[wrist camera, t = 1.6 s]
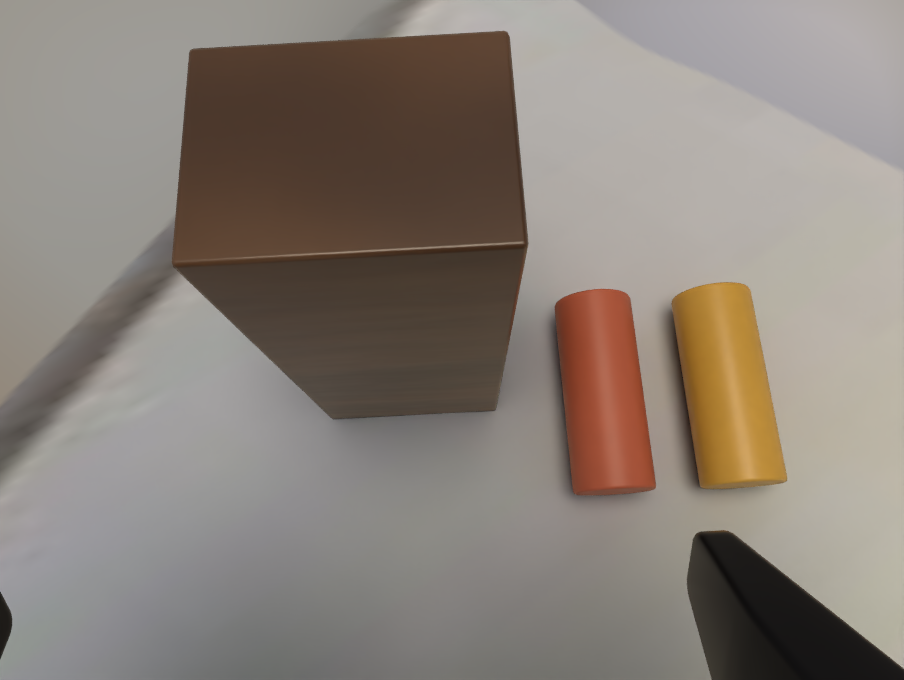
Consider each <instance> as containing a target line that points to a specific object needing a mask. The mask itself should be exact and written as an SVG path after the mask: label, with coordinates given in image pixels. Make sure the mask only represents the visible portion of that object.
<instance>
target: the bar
mask: <svg viewBox="0 0 904 680" xmlns="http://www.w3.org/2000/svg"><path fill="white" fill-rule="evenodd" d="M527 248H528V233H527V222H526V211H525V200H524V189H523V179H522V168H521V157H520V146H519V135H518V124H517V113H516V102H515V91H514V80H513V69H512V58H511V47H510V37H509V35H508V33H507V32H506V31H495V32H477V33H460V34H442V35H425V36H407V37H390V38H373V39H355V40H338V41H320V42H303V43H287V44H268V45H251V46H233V47H216V48H198V49H192V50H190V52H189V63H188V74H187V87H186V98H185V111H184V123H183V135H182V146H181V158H180V170H179V182H178V194H177V207H176V218H175V230H174V242H173V254H172V264H173V267H174V268H175V269H176V270H177V271H178V272H179V273H180V274H181V275H182V276H183V277H185V278H186V279H187V280H188V281H189V282H190V283H191V284H192V285H193V286H194V287H195V288H196V289H197V290H198V291H199V292H200V293H201V294H202V295H203V296H204V297H205V298H206V299H207V300H209V301H210V302H211V303H212V304H213V305H214V306H215V307H216V308H217V309H218V310H219V311H220V312H221V313H222V314H223V315H224V316H225V317H226V318H227V319H228V320H229V321H230V322H231V323H233V324H234V325H235V326H236V327H237V328H238V329H239V330H240V331H241V332H242V333H243V334H244V335H245V336H246V337H247V338H248V339H249V340H250V341H251V342H252V343H253V344H254V345H256V346H257V347H258V348H259V349H260V350H261V351H262V352H263V353H264V354H265V355H266V356H267V357H268V358H269V359H270V360H271V361H272V362H273V363H274V364H275V365H276V366H277V367H278V368H280V369H281V370H282V371H283V372H284V373H285V374H286V375H287V376H288V377H289V378H290V379H291V380H292V381H293V382H294V383H295V384H296V385H297V386H298V387H299V388H300V389H301V390H302V391H304V392H305V393H306V394H307V395H308V396H309V397H310V398H311V399H312V400H313V401H314V402H315V403H316V404H317V405H318V406H319V407H320V408H321V409H322V410H323V411H324V412H325V413H326V414H328V415H329V416H330V417H331V418H332V419H342V418H361V417H380V416H398V415H417V414H436V413H455V412H474V411H493V410H496V406H497V401H498V396H499V391H500V386H501V381H502V376H503V371H504V366H505V361H506V355H507V350H508V345H509V340H510V335H511V330H512V325H513V320H514V315H515V309H516V304H517V299H518V294H519V289H520V284H521V279H522V274H523V269H524V263H525V258H526V253H527Z"/></svg>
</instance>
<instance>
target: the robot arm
mask: <svg viewBox="0 0 904 680" xmlns="http://www.w3.org/2000/svg"><path fill="white" fill-rule="evenodd" d="M687 589H688V595H689V599H690V603H691V606H692V610H693V614H694V617H695V621H696V624H697V628H698V632H699V635H700V639H701V642H702V646H703V650H704V653H705V657H706V660H707V664H708V668H709V671H710V675H711V678H712V680H904V669H903V668H902V667H901V666H900V665H898V664H897V663H896V662H895V661H893V660H892V659H891V658H890V657H888V656H887V655H886V654H885V653H883V652H882V651H881V650H879V649H878V648H877V647H876V646H874V645H873V644H872V643H871V642H869V641H868V640H867V639H866V638H864V637H863V636H862V635H861V634H859V633H858V632H857V631H855V630H854V629H853V628H852V627H850V626H849V625H848V624H847V623H845V622H844V621H843V620H842V619H840V618H839V617H838V616H837V615H835V614H834V613H833V612H832V611H830V610H829V609H828V608H826V607H825V606H824V605H823V604H821V603H820V602H819V601H818V600H816V599H815V598H814V597H813V596H811V595H810V594H809V593H808V592H806V591H805V590H804V589H802V588H801V587H800V586H799V585H797V584H796V583H795V582H794V581H792V580H791V579H790V578H789V577H787V576H786V575H785V574H784V573H782V572H781V571H780V570H779V569H777V568H776V567H775V566H773V565H772V564H771V563H770V562H768V561H767V560H766V559H765V558H763V557H762V556H761V555H760V554H758V553H757V552H756V551H755V550H753V549H752V548H751V547H750V546H748V545H747V544H746V543H744V542H743V541H742V540H741V539H739V538H738V537H737V536H736V535H734V534H733V533H731V532H729V531H724V530H723V531H704V532H699V533H697V534H696V535H695V537H694V539H693V543H692V550H691V556H690V562H689V569H688V575H687ZM11 628H12V615H11V612H10V609H9V607H8V606H7V604H6V602H5V600H4V598H3V596H2V594H1V592H0V659H1V656H2V654H3V651H4V648H5V646H6V643H7V641H8V638H9V636H10V633H11Z"/></svg>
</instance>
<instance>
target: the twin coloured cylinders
mask: <svg viewBox="0 0 904 680" xmlns="http://www.w3.org/2000/svg"><path fill="white" fill-rule="evenodd" d="M671 304H672V311H673V317H674V323H675V330H676V336H677V342H678V349H679V355H680V362H681V368H682V374H683V381H684V387H685V393H686V400H687V406H688V413H689V419H690V425H691V432H692V438H693V444H694V451H695V457H696V463H697V470H698V476H699V483H700V486H701V488H704V489H729V488H745V487H756V486H766V485H774V484H780V483H784V482H786V481H787V474H786V469H785V464H784V459H783V454H782V449H781V444H780V439H779V434H778V428H777V423H776V418H775V413H774V408H773V403H772V398H771V393H770V388H769V383H768V377H767V372H766V367H765V362H764V357H763V352H762V347H761V342H760V337H759V332H758V326H757V321H756V316H755V311H754V306H753V301H752V296H751V291H750V289H749V288H748V286H746V285H744V284H741V283H732V282H724V283H713V284H707V285H702V286H698V287H695V288H692V289H689V290H686V291H684V292H682V293H680V294H678V295H677V296H675V297H674V298H673V300H672V303H671ZM555 318H556V328H557V337H558V347H559V357H560V367H561V377H562V387H563V397H564V407H565V417H566V427H567V436H568V446H569V456H570V466H571V476H572V486H573V492H574V494H576V495H613V494H626V493H636V492H644V491H650V490H653V489H655V488H656V482H655V475H654V467H653V460H652V453H651V446H650V438H649V431H648V424H647V417H646V409H645V402H644V395H643V388H642V380H641V373H640V366H639V359H638V351H637V344H636V337H635V329H634V322H633V315H632V308H631V300H630V297H629V296H628V294H626V293H625V292H622V291H619V290H613V289H594V290H586V291H581V292H577V293H574V294H571V295H568V296H566V297H564V298H562V299H560V300H559V301H558V302H557V303H556V305H555Z"/></svg>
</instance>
